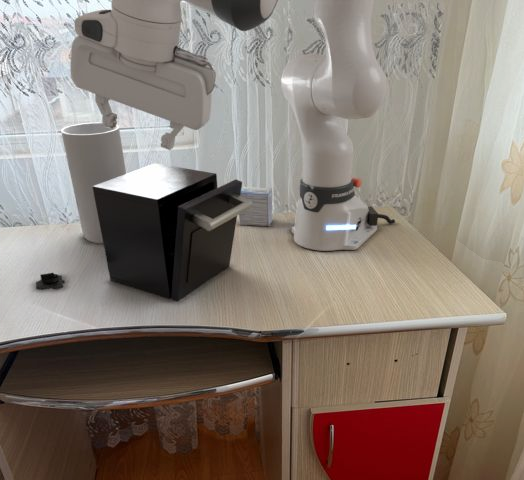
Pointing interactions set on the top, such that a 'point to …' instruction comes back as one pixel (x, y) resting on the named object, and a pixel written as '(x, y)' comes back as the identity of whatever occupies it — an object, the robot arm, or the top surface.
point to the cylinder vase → (92, 168)
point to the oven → (146, 222)
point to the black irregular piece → (50, 281)
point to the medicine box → (257, 206)
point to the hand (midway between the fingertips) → (138, 136)
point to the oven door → (205, 237)
